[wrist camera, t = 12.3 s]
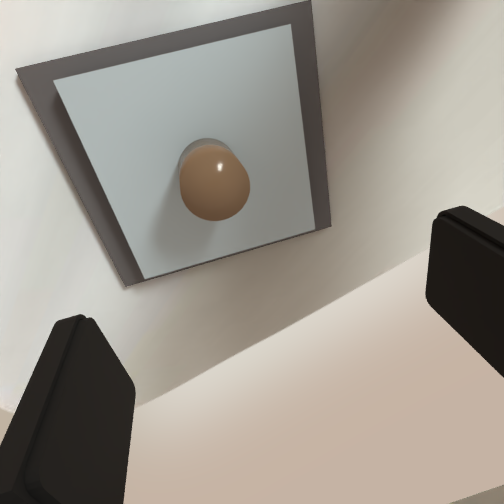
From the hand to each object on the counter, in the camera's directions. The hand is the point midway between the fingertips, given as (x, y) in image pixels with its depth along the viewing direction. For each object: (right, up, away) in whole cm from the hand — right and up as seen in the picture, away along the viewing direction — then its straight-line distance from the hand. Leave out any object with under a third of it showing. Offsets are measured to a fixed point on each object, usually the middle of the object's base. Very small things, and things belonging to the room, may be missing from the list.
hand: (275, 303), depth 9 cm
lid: (-4, +7, +14) cm, 17 cm away
